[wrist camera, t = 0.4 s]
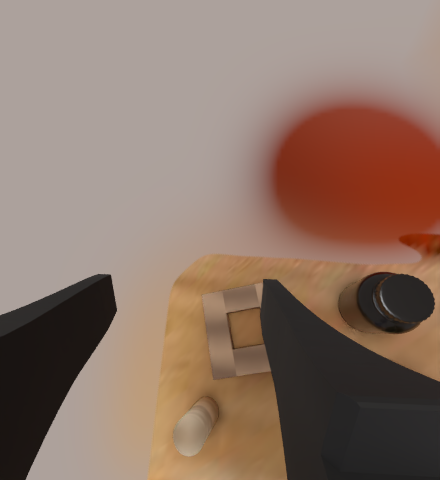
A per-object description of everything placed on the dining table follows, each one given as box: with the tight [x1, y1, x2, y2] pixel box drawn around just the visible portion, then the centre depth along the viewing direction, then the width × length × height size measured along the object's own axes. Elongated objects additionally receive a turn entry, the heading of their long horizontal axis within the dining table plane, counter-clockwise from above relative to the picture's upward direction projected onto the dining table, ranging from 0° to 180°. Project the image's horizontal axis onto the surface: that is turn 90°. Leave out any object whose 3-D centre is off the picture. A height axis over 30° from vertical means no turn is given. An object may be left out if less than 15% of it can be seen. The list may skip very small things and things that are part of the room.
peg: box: [173, 397, 219, 456], centre depth 30 cm, size 4×4×8 cm
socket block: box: [202, 283, 271, 380], centre depth 36 cm, size 12×12×2 cm
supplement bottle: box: [339, 272, 435, 334], centre depth 29 cm, size 7×7×12 cm
